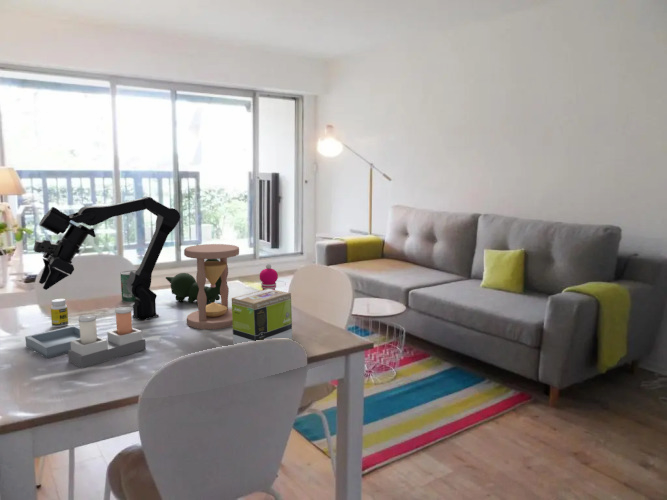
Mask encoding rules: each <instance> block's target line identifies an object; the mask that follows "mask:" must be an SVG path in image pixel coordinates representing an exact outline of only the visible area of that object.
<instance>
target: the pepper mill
mask: <svg viewBox="0 0 667 500" xmlns="http://www.w3.org/2000/svg"><path fill="white" fill-rule="evenodd" d="M278 279H279V276H278V272H277V270H275V269H274V268H272V265H271V264H270V263H267V264H266V265H265V268H264V269H262V270H261V271H260V273H259V281H260V282H261V283H260V284H261V286H260V287H261V290H265V289H272V290H276V288H277V283H276V282H277V281H278Z"/></svg>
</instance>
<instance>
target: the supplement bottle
mask: <svg viewBox="0 0 667 500" xmlns="http://www.w3.org/2000/svg"><path fill="white" fill-rule="evenodd" d="M68 311H69V310H68V306H67V301H66V299H65V298H56V299H52V300H51V307H50V316H51V318H50V319H51V326H52V327H53V328H65V327H67V326H68V325H69V313H68Z"/></svg>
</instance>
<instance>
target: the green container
mask: <svg viewBox="0 0 667 500" xmlns="http://www.w3.org/2000/svg"><path fill="white" fill-rule="evenodd" d="M137 270H138V269H137ZM137 270H125V271H121V272H120V289H121V302H123V303H125V304H127V303H128V304H131V303H132V304H134V300H136V298H135V297H134V296H133V295H132V294H131V293H130V292H129V291H128V289H127V282H126V281H127V280H128V278H129V275H130V272H131V271H132V272H134V273H135V272H136V271H137Z"/></svg>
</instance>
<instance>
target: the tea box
mask: <svg viewBox="0 0 667 500" xmlns="http://www.w3.org/2000/svg"><path fill="white" fill-rule="evenodd" d="M231 309H232V321H233V326H232V343H233V345H234V344H237V343H242V342H248V341H256V340H264V339H272V338H289V339H292V340H293V317H292V316H293V315H292V311H293V310H292V293H291V292H286V291H280V290H277V289H275V290H272V289H265V290H263V289H260V290H258V291H254V292H250V293H246V294H241V295H239V296H235V297H231Z"/></svg>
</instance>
